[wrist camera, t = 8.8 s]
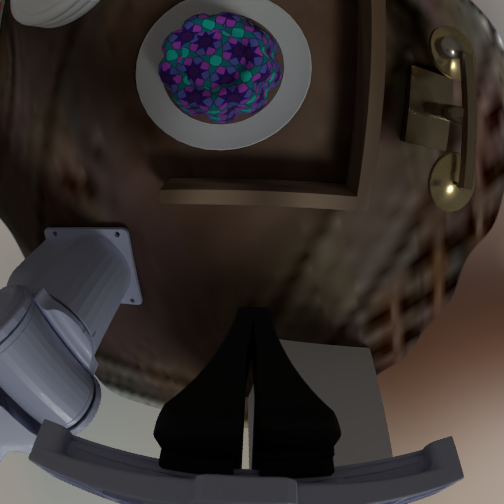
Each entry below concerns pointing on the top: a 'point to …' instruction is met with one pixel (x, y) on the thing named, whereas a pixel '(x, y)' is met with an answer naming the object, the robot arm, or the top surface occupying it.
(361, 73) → the holder
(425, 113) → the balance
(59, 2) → the white short cylinder
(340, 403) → the milk
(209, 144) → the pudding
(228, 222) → the top surface
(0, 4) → the skincare box
